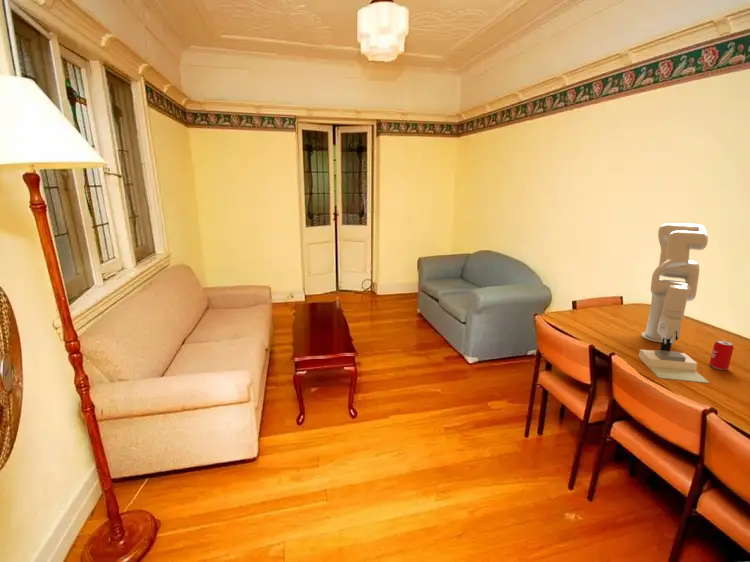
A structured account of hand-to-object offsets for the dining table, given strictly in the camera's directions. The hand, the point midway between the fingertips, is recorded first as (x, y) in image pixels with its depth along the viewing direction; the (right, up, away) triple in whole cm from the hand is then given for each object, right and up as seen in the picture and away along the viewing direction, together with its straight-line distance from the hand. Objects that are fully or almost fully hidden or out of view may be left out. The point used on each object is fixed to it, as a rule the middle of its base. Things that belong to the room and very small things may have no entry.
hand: (664, 351), depth 169 cm
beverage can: (+20, -7, -4) cm, 22 cm away
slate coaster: (-1, -2, -4) cm, 5 cm away
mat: (-3, -8, -11) cm, 14 cm away
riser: (-1, -6, -1) cm, 6 cm away
